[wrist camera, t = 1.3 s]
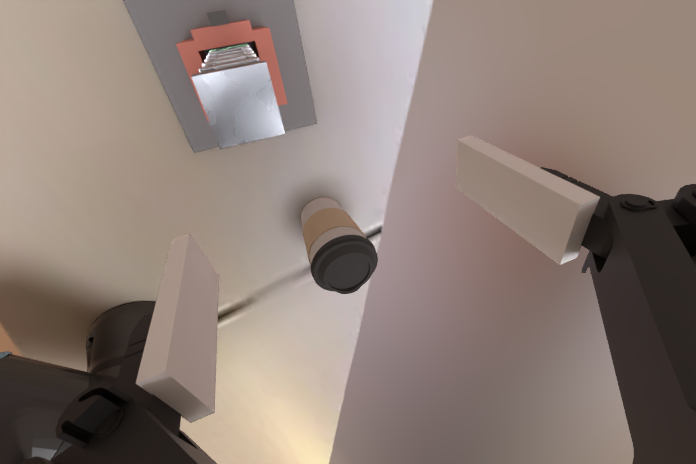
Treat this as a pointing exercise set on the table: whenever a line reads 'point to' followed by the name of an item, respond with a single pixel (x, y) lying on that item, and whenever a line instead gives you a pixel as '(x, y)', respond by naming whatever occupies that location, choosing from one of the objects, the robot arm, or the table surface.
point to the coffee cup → (336, 247)
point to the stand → (217, 32)
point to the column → (238, 96)
